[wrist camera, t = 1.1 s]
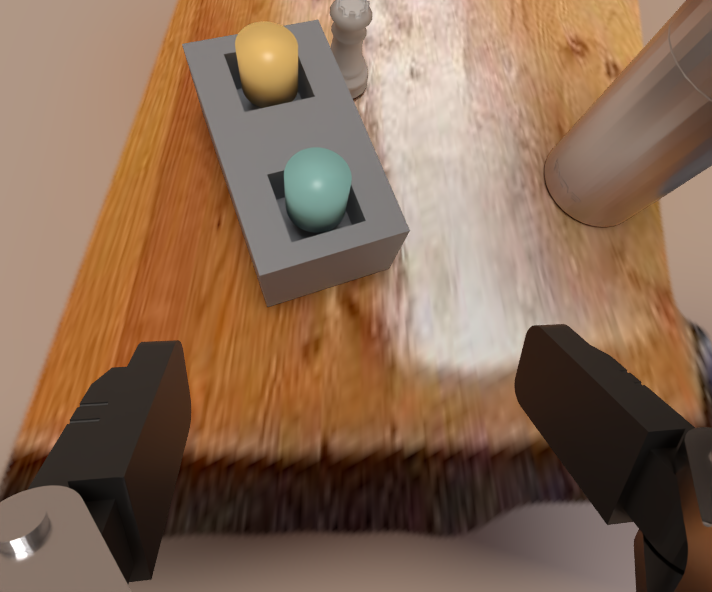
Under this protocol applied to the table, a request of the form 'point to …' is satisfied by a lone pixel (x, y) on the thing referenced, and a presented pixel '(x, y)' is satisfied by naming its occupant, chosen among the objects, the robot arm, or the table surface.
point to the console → (269, 158)
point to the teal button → (316, 189)
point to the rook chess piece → (350, 41)
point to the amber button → (267, 63)
